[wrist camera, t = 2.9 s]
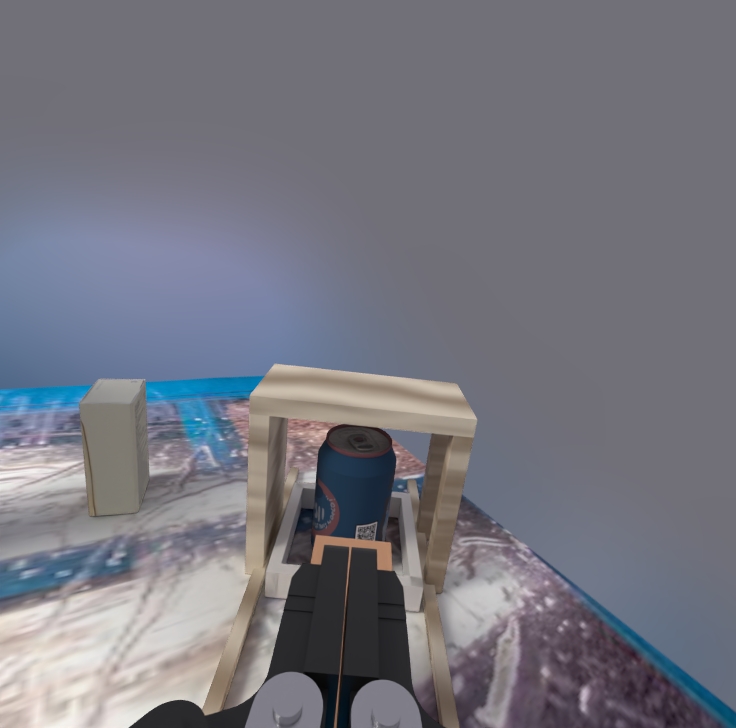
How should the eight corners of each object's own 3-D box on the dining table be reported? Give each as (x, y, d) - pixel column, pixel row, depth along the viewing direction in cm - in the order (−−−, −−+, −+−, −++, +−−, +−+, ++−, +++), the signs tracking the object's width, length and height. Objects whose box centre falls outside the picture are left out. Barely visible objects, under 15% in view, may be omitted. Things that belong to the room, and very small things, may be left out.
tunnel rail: (554, 1180, 13) (747, 888, 8) (26, 1143, 13) (-86, 818, 8) (420, 486, 51) (442, 359, 46) (284, 472, 50) (291, 342, 45)
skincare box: (106, 481, 45) (97, 377, 41) (152, 478, 46) (146, 377, 43) (87, 519, 39) (75, 402, 35) (140, 514, 40) (132, 401, 37)
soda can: (301, 532, 40) (309, 423, 37) (365, 520, 43) (378, 417, 40) (322, 587, 34) (335, 462, 31) (395, 568, 37) (413, 452, 34)
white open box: (442, 810, 22) (491, 621, 18) (206, 789, 21) (203, 593, 17) (406, 512, 45) (424, 404, 41) (293, 501, 45) (301, 390, 41)
